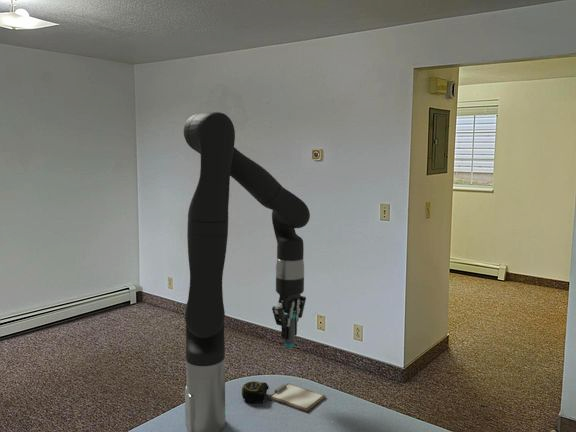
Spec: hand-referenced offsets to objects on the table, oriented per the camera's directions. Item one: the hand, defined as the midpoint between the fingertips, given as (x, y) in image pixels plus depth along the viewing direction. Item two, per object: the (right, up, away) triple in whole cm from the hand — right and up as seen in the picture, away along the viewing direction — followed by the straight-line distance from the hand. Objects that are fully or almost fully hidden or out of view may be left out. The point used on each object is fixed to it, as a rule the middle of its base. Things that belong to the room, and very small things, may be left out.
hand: (289, 336), depth 134 cm
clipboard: (+2, -17, +1) cm, 17 cm away
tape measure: (-9, -17, +1) cm, 19 cm away
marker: (0, -3, 0) cm, 3 cm away
